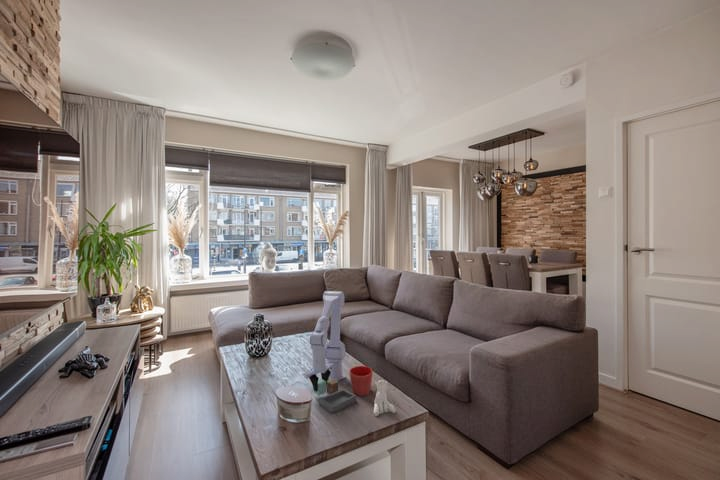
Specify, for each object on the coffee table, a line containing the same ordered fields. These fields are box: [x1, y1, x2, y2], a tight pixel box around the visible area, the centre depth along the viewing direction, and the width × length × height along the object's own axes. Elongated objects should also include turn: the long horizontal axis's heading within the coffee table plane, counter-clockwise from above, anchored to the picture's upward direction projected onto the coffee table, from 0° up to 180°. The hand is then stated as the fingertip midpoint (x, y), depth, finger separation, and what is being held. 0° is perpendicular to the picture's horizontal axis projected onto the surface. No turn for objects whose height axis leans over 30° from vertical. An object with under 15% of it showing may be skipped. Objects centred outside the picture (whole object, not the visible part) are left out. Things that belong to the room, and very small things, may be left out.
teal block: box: [313, 378, 327, 396], centre depth 141 cm, size 4×4×5 cm
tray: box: [319, 388, 357, 414], centre depth 136 cm, size 9×13×2 cm
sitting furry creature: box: [373, 379, 397, 417], centre depth 130 cm, size 10×9×12 cm
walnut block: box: [326, 379, 340, 395], centre depth 145 cm, size 4×4×5 cm
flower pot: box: [349, 365, 373, 396], centre depth 145 cm, size 11×11×10 cm
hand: (319, 388), depth 141 cm, fingers closed on teal block, 4 cm apart
